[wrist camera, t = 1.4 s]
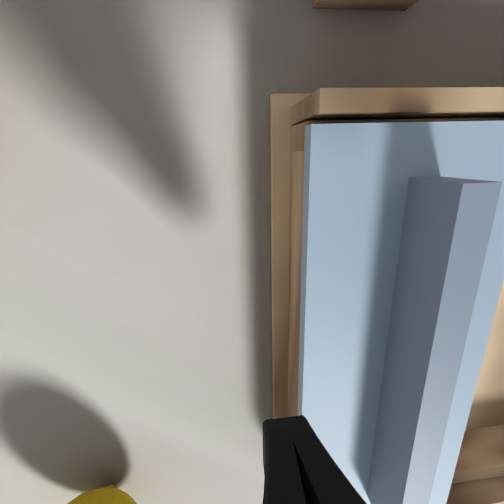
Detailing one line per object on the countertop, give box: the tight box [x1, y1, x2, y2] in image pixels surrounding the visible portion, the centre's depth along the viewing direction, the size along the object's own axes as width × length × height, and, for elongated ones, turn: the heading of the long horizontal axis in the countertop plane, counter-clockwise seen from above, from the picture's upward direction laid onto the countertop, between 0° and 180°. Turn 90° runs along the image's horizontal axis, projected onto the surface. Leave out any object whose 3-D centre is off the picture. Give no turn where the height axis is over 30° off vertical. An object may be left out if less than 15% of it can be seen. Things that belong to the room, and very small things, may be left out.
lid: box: [297, 121, 504, 504], centre depth 12 cm, size 8×20×3 cm, turn 1°
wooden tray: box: [270, 87, 504, 504], centre depth 15 cm, size 19×23×4 cm
